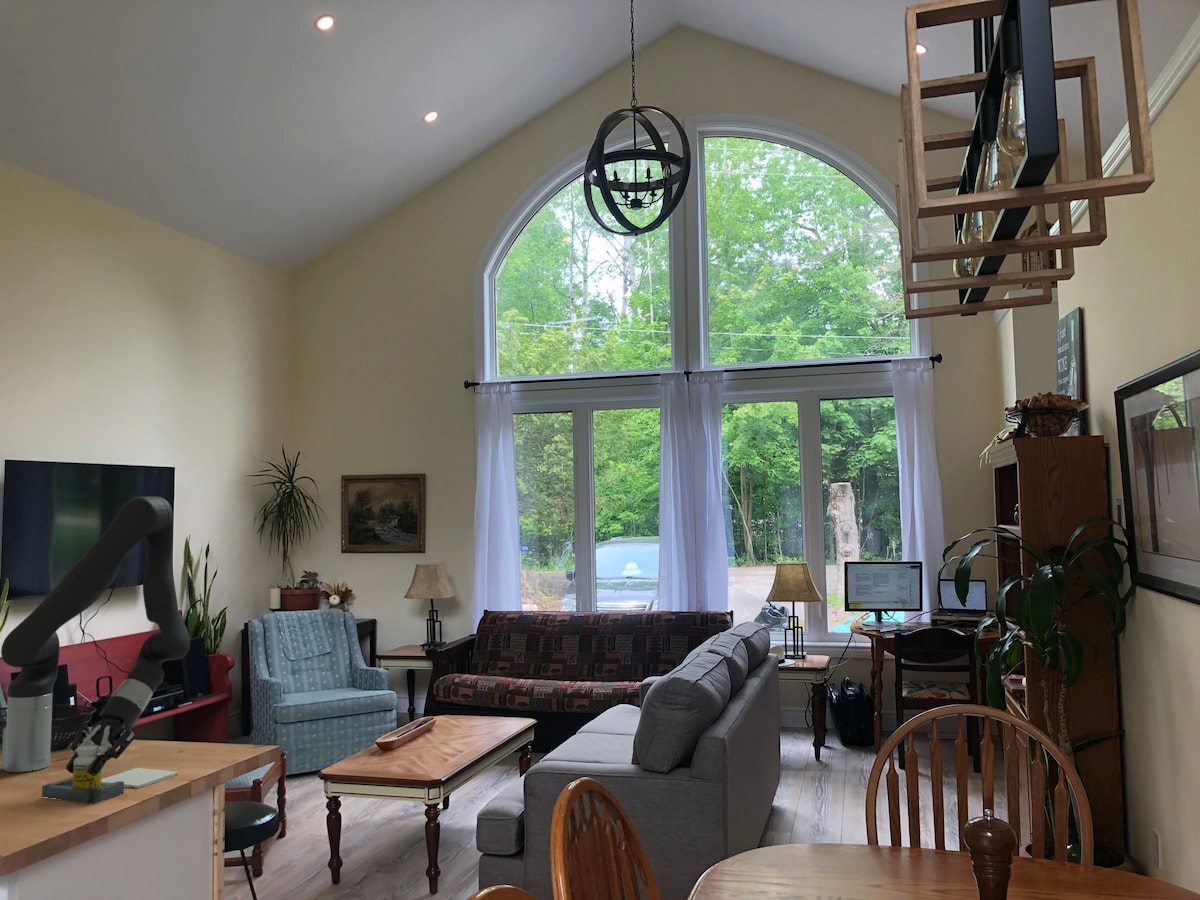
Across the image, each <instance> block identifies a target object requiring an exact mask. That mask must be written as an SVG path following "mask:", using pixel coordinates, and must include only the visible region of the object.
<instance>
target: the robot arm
mask: <svg viewBox="0 0 1200 900" xmlns="http://www.w3.org/2000/svg"><path fill="white" fill-rule="evenodd" d="M172 508H173V507H172V506H171V504H170V502H169V501H168V500H166V499H165V498H163V497H161V496H155V495H150V496H149V495H147V496H136V497H134V498H132V499H130V500H128V501H127V502H125V504H124V505H122V507H121V508H120V509H119V511H118V512H117V514H116V515H115V516H114V518H113V520H112V521H111V522H110V524H108V526H107V528H106V529H105V530H104V532H103V533H102V534H101V535H100V537H99V538H98V539H97V540H96V541H95V542H94V543H93V544H92V545H91V547H89V548H88V550H87V551H86V552H85V553H84V554H83V555H82V556H81V558H79V559H78V561H76V563H75V564H73V566H72V567H71V568H70V569H69V570H68V572H67V573H65V575H63V578H62V579H60V581H59V582H58V583H57V584H56V586H55V587H54V588H53V589H52V590H51V591H50V592H49V593H48V595H46V597H45V598H44V599H43V600H42V601H41V602H40V604H39V605H38V606H37V607H36V608H35V609H34V610H33V611H32V612H31V613H30V614H29V615H28V616H27V617H25V618H24V619H23V620H22V621H21V622H20V623H19V624H18V625H17V626H16V627H15V628H13V629H12V630H11V631H9V633H8V634H7V636H6V637H5V638H4V640H3V642H2V644H1V651H0V654H1V658H2V660H3V662H4V663H5V665H7V666H10V667H12V668H20V672H19V674H18V675H17V677H16V678H14V680H13V681H12V682H10V683H9V684H8V687H7V702H6V705H7V707H6V708H7V709H6V726H5V727H4V728H3V730H2V749H1V768H2V769H1V770H4V772H7V773H26V771H27V772H32V770H34V771H39V770H42V768H43V769H45V768H47V767H49V766H50V765H51V749H52V748H51V747H52V746H51V745H52V717H53V713H52V712H53V694H54V693H53V692H54V691H53V690H54V685H55V683H56V681H57V678H58V672H59V661H60V650H61V649H60V639H59V636H58V633H57V631H58V630H59V629H60V628H61V627H62V626H64V625H65V624H67V623H68V622H69V621H71V620H72V619H74V618H76V616H77V617H78V616H79V615H80V614H82V613H83V612H84V611H86V610H87V609H88V608H90V607H91V606H92V605H94V604H95V602H97V601H98V600H99V599H100V598H101V596H102V595H103V594H104V593H105V592H106V591H107V590H108V588H109V587H110V586H111V585H112V583H113V582H114V581H115V578H116V577H117V574H118V573H119V570H120V566H121V564H122V561H123V560H124V558H125V556H126V555H127V554H128V553H129V552H130V550H132V548H133V547H134V546H135V545H136V544H137V543H138V542H139V541H140V540H141V539H143V538H144V541H145V546H146V564H145V569H144V573H143V582H142V595H143V603H144V609H145V615H146V619H147V620H148V621H149V622H150V623H154V624H157V626H158V628H159V630H160V631H156V632H154V633H152V634H150V636H149V635H148V637H147V638H146V639H145V640H144V642H143V643H142V645H141V647H140V650H139V652H138V655H137V658H136V661H135V663H134V666H133V668H132V669H131V671H129V673H128V674H127V675H126V677H125V679H123V681H122V683H120V685H119V686H118V687H117V688H116V690H115V691H114V692H113V694H112V695H111V696H110V697H109V699H108V701H107V702H106V704H105V705H104V706H103V708H102V709H101V711H100V712H99V718H98V720H97V721H96V723H95V724H93V725H92V726H86V725H85V724H83V725H81V726H80V728H79V730H78V732H77V734H76V735H75V737H74V740H73V741H72V743H71V745H70V747H69V748H70V749H71V751H72V752H74V754H73V755H72V756H71V758H70V759H69V761H68V762H67V764H66V767H65V769H66V771H68V773H69V774H73V764H74V760H75V759H76V758H77V757H79V755H78V754H77V749H78V748H79V747H81V746H86V745H98V746H99V747H100V750H99V754H97V757H96V758H95V760H94V761H93V763H92V764H91V766H90V767H89V769H88V772H89V773H90V774H91V775H93V776H96V775H97V773H99V772H100V771H101V769H103V767H105V764H106V763H107V761H110V760H111V759H115V760H117V759H118V758H120V756H121V755H122V754H123V753H124V752H125V750H127V748H128V747H129V746H130V745H131V743H133V741H134V740H135V739H136V735H135V733H134V732H133V731H132V728H133V727H134V725H135V724H136V722H137V721H138V719H139V718H140V717H141V715H142V713H143V712H144V710H145V709H146V707H147V706H148V704H149V702H150V701H151V698H152V697H153V695H154V694H155V692H156V690H157V688H158V687H159V686H160V685H161V683H162V681H163V679H164V678H165V672H164V668H162V667H161V666H162V665H163V663H164V662H166V661H177V660H181V659H182V658H183V659H184V657H185V656H186V655H187V654H188V652H189V650H190V646H191V638H190V634H189V631H188V628H187V625H186V624H185V622H184V619H183V617H182V615H181V613H180V611H179V605H178V598H177V593H176V592H177V591H176V586H175V584H176V583H175V579H174V563H173V558H174V557H173V529H174V518H173V517H174V516H173V509H172ZM91 742H92V743H91ZM38 769H39V770H38Z"/></svg>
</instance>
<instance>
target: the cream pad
mask: <svg viewBox="0 0 1200 900" xmlns="http://www.w3.org/2000/svg"><path fill="white" fill-rule="evenodd" d="M178 773H179V774H180V772H179V771H173V770H163V769H154V768H153V769H152V768H144V767H135V768H133V769H130V770H129V769H128V770H126V771H123V772H120V773H117V774H114V775H111V776H108V777H105V778H101V784H102V785H101V786H105V785H108V784H111V783H114V782H117V781H122V782H124V786H125V787H124V788H128V787H134V788H133V789H137V788H138V789H140V788H139V787H141V788H143V787H142V786H144V787H146V786H145V785H147V786H149V784H150V785H153V784H154V783H155V782H156V783H158V782H161V781H163V780H167V779H169V778H168V777H170V778H172V777H171V776H173V775H175V774H178ZM173 777H174V776H173ZM166 778H167V779H166ZM152 783H153V784H152Z"/></svg>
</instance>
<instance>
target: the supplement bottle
mask: <svg viewBox="0 0 1200 900" xmlns="http://www.w3.org/2000/svg"><path fill="white" fill-rule="evenodd" d="M99 748H100V746H98V745H93V744H92V745H86V746H81V747H79V748H78V749H77V754H78V755H79V757H77V758H76V759H75V760H74V764H73V773H72V777H73V787H79V788H88V789H96V788H99V787H102V785H101V779H102V769H103V768H102V769H101V771H100V772H99V773H97V775H96V776H93V775H91V774H90V773H89V772H88V769H89V767H90V766H91V764H92V763H93V761H94V760H95V758H96V757H97V755H98V754H99V752H100V750H99Z"/></svg>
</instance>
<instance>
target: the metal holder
mask: <svg viewBox="0 0 1200 900" xmlns="http://www.w3.org/2000/svg"><path fill="white" fill-rule="evenodd" d="M124 789H125V787H124V782H122V781H117V782H114V783H111V784H108V785H101V787H99V788H96V789H88V788H79V787H73V776H70V777H67V778H64V779H61V780H58V781H54V782H51V783H48V784H45V785H42V786H41V798H42V797H48V798H56V799H61V800H60V801H62V800H67V801H66V802H71V801H77V802H76V803H80V802H84V803H83V804H88V803H92V804H91V805H94V803H95V804H97V802H98V803H100V801H101V802H103V801H102V800H104V801H106V799H107V800H110V799H112V798H115V797H118V796H120V794H121V795H123V793H125V792H124ZM117 795H118V796H117ZM114 796H115V797H114ZM111 797H112V798H111ZM109 798H110V799H109Z"/></svg>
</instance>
